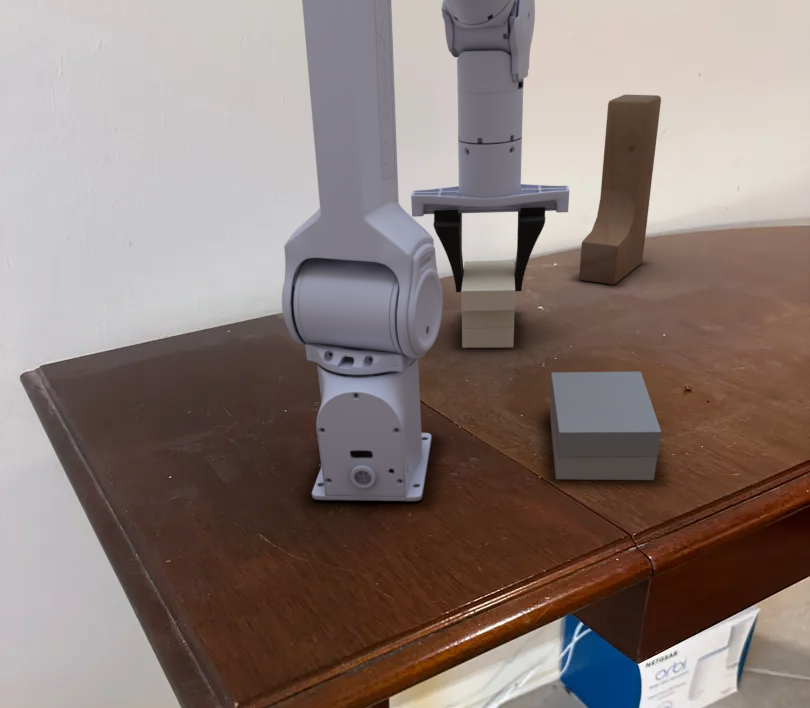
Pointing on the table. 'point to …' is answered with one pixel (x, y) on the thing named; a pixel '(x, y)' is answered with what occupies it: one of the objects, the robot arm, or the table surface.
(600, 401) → the grey book
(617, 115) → the wooden block
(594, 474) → the grey book
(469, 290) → the beige rectangular block
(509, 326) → the white book
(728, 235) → the table surface
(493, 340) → the white book
